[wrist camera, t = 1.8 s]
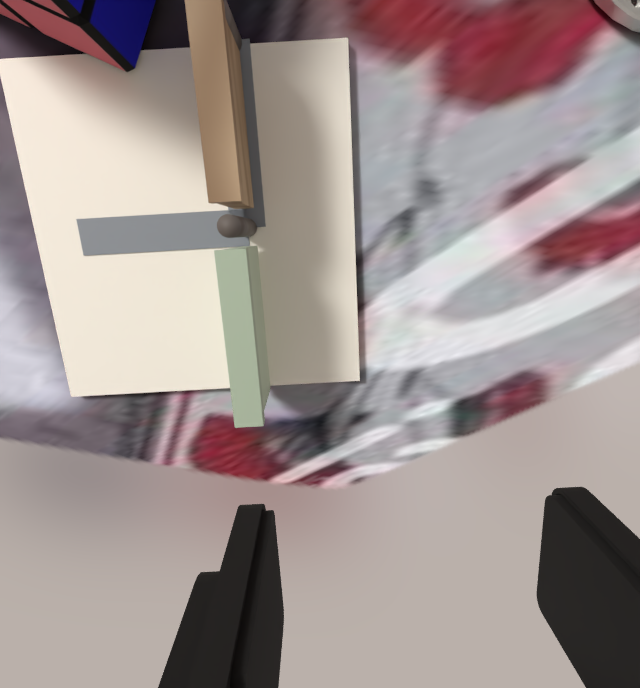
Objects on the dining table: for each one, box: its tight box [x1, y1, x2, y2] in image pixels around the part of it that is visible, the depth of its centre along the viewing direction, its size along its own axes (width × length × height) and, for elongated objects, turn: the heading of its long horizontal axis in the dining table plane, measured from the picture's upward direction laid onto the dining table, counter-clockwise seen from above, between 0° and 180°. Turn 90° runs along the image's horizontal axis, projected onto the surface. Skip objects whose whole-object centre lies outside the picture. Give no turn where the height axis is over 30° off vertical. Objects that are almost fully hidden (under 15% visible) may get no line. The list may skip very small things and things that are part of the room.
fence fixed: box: [185, 0, 257, 238], centre depth 20 cm, size 1×10×6 cm, turn 3°
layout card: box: [0, 38, 360, 397], centre depth 24 cm, size 18×19×1 cm
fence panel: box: [214, 246, 271, 428], centre depth 22 cm, size 8×1×5 cm, turn 3°
